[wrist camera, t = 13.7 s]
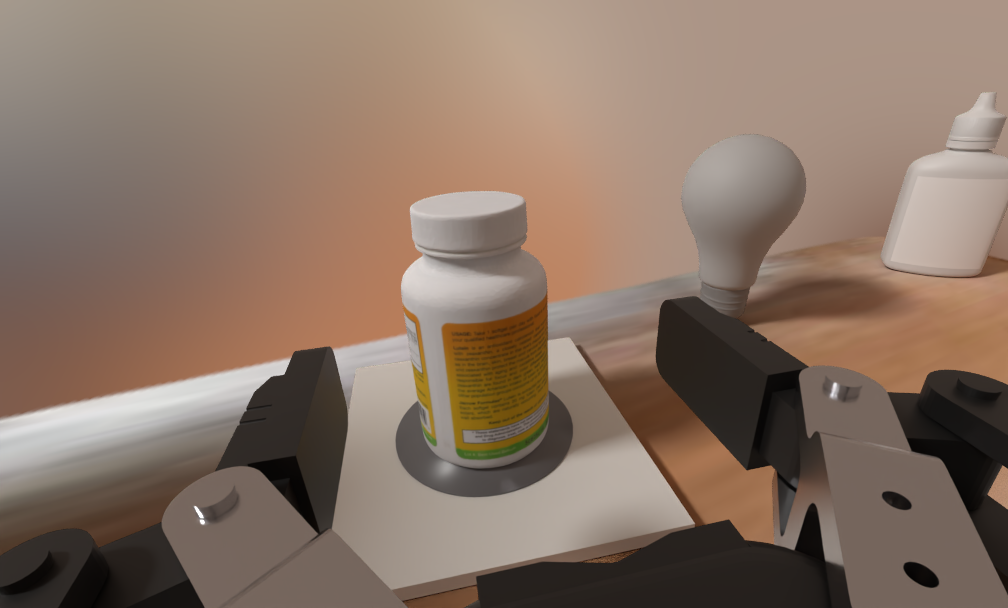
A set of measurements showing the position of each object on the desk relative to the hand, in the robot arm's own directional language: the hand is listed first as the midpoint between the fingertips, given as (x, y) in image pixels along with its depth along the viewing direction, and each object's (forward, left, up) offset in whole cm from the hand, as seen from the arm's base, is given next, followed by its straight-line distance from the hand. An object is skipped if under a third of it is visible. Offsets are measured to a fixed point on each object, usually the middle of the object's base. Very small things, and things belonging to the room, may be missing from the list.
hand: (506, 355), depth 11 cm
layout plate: (0, +6, -8) cm, 10 cm away
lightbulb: (+16, +13, -8) cm, 22 cm away
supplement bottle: (0, +6, -7) cm, 10 cm away
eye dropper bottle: (+35, +16, -8) cm, 39 cm away
